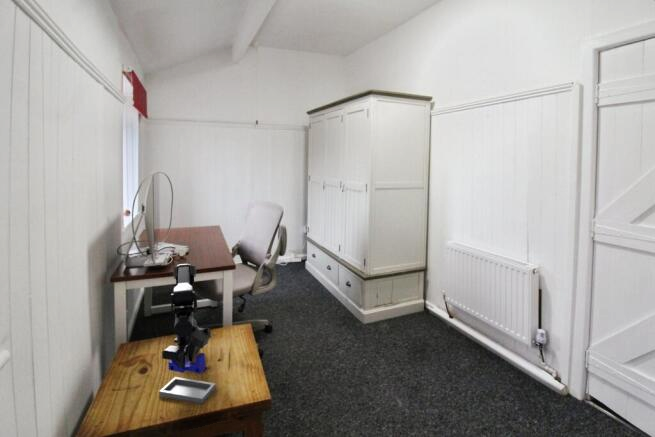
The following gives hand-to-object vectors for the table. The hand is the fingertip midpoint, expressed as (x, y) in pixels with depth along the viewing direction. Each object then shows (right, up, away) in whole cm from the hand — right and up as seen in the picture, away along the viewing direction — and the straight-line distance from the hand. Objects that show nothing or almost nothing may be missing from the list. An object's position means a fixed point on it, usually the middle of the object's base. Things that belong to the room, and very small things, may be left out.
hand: (187, 364), depth 131 cm
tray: (0, -11, +2) cm, 11 cm away
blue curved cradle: (0, -2, 0) cm, 2 cm away
